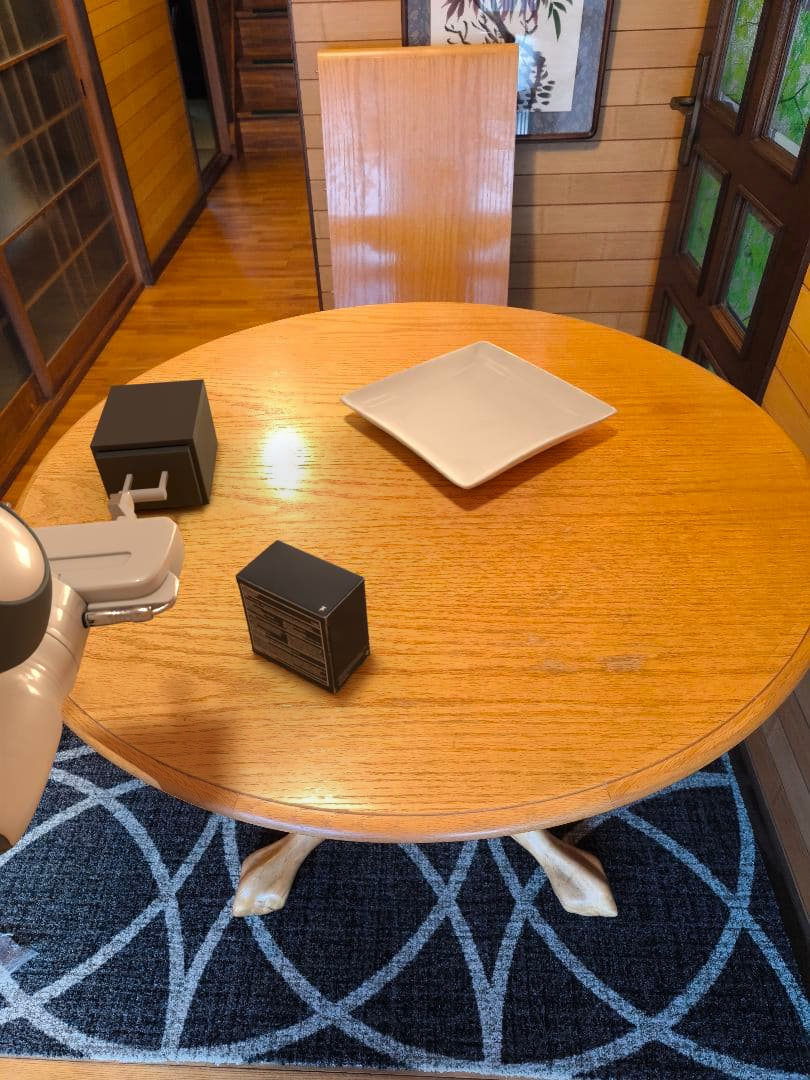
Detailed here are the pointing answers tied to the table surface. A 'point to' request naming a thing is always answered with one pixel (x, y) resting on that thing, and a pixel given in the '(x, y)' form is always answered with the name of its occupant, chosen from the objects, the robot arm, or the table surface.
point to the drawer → (152, 476)
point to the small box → (305, 614)
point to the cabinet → (160, 423)
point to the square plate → (477, 411)
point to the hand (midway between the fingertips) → (63, 504)
